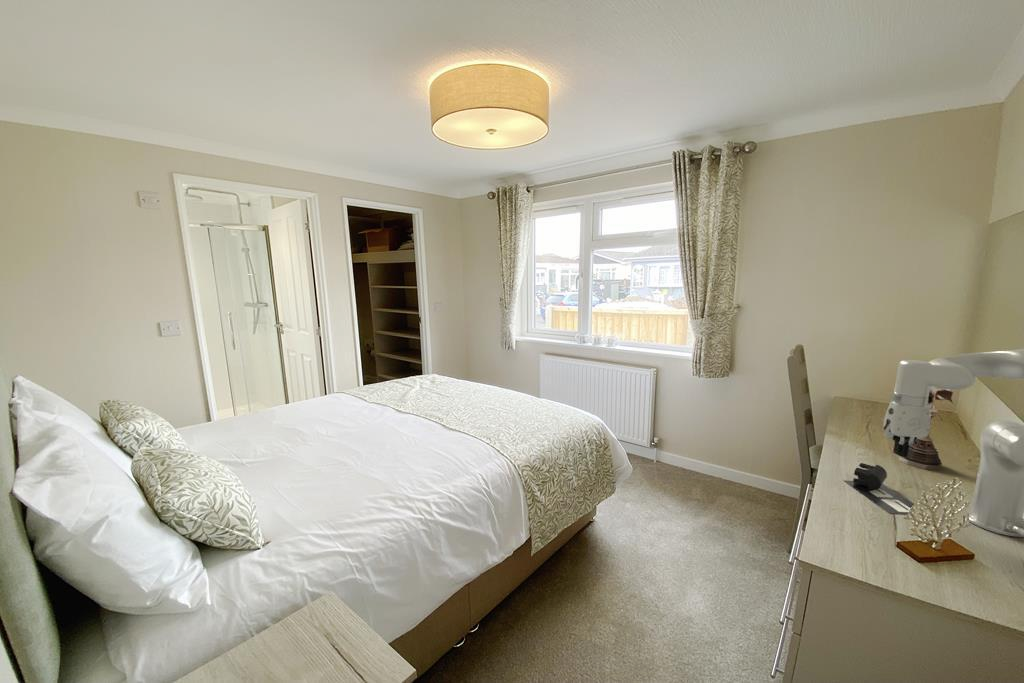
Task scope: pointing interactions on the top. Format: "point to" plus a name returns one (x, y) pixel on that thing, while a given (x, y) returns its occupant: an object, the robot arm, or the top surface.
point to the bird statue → (927, 438)
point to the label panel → (881, 503)
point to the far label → (880, 493)
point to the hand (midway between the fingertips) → (900, 454)
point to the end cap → (869, 477)
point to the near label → (897, 505)
